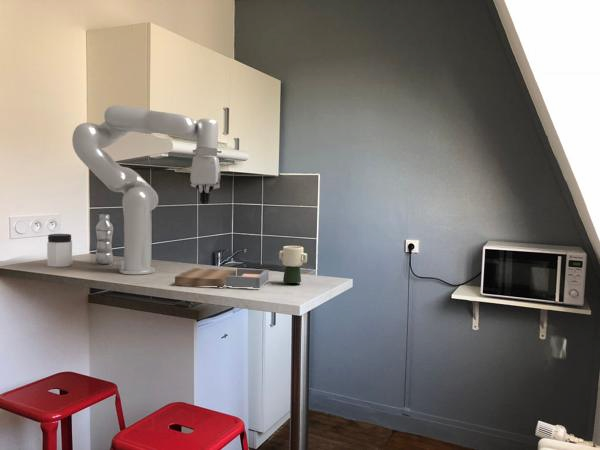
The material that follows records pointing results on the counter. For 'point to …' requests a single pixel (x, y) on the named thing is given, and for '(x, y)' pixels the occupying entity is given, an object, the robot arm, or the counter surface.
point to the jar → (59, 250)
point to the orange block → (251, 275)
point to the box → (247, 278)
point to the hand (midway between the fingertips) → (204, 203)
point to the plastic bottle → (104, 240)
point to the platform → (204, 277)
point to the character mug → (292, 263)
